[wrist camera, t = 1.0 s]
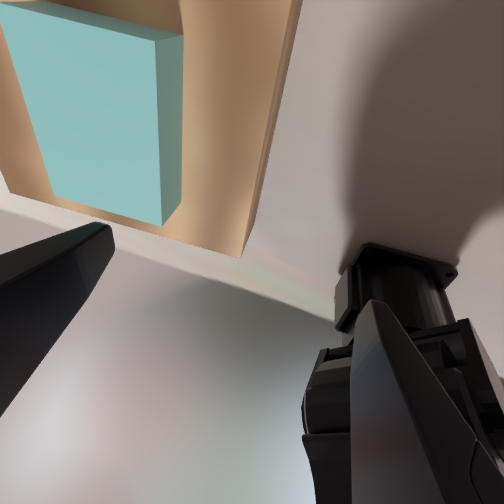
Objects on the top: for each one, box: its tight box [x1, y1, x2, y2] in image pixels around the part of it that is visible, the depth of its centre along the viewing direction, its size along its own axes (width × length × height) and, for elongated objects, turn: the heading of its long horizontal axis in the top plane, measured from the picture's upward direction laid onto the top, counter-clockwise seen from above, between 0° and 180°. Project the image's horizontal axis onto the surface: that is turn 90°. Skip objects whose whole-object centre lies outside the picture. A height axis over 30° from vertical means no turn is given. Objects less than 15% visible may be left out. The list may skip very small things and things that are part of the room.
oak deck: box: [0, 0, 303, 259], centre depth 16 cm, size 16×14×4 cm
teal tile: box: [0, 1, 184, 227], centre depth 14 cm, size 6×8×2 cm
